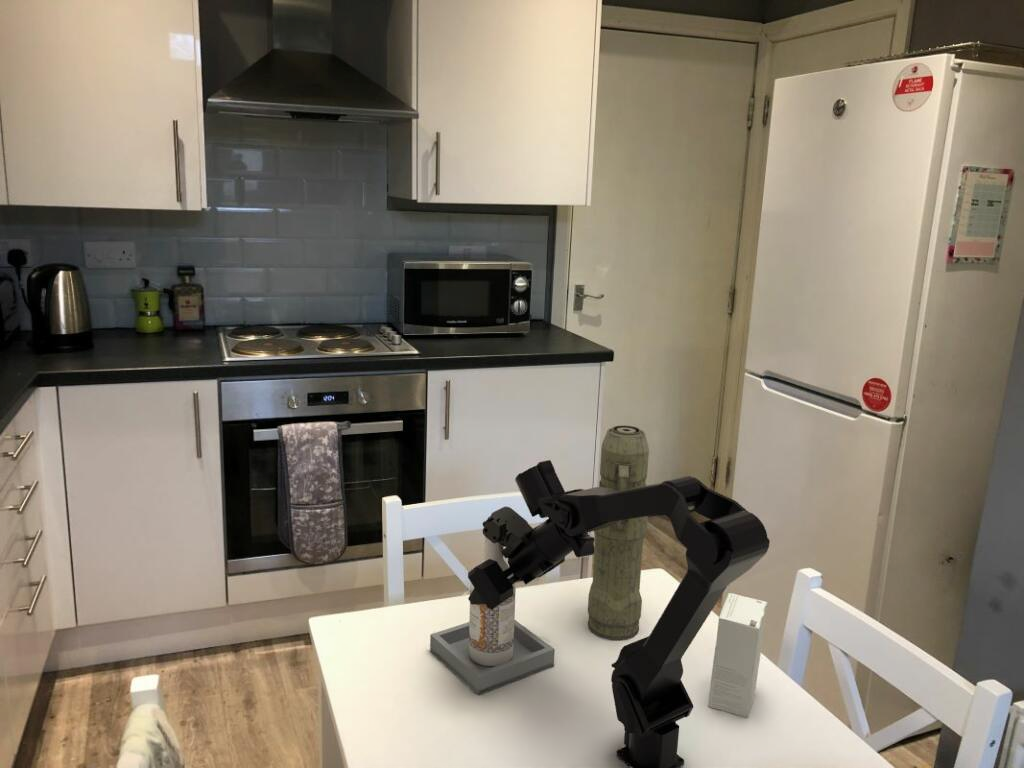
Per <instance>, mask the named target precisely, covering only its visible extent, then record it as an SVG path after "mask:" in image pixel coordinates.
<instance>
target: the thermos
mask: <svg viewBox="0 0 1024 768" xmlns="http://www.w3.org/2000/svg"><path fill="white" fill-rule="evenodd" d="M600 448H601V450H600V451H601V452H600V466H599V467H600V468H599V475H600V480H599V482H598V483H599V484H598V487H606V488H613V489H614V490H621V491H622V490H627V489H632V488H637V487H643V486H647V484H646V479H647V477H648V468H649V455H650V449H649V444H648V440H647V435H646V432H645V431H644V430H642V429H640V428H639V427H637V426H632V425H623V424H622V425H615V426H613V427H610V428H608V429H607V431H606V433H605V436H604V438H603V441H602V443H601V447H600ZM648 521H649V516H645V517H639V518H632V519H625V520H621V521H620V522H618V523H615V524H613V525H611V526H609V527H606V528H602V529H599V530H595V531H593V532H594V535H595V536H594V539H595V540H594V548H595V549H594V554H593V569H592V583H591V584H590V588H589V593H588V597H587V601H588V602H587V614H588V620H587V627H588V630H589V632H590V633H591V634H593V635H595V636H596V637H599V638H601V639H604V640H607V641H617V642H618V641H619V642H620V641H628V640H630V639H633V638H634V637H636V636H637V635H638V634H639V631H640V619H641V618H642V607H643V600H642V595H641V591H640V588H641V587H640V586H641V575H642V561H643V560H642V559H643V545H644V538H645V537H646V534H647V532H648V523H649V522H648Z"/></svg>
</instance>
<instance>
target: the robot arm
mask: <svg viewBox="0 0 1024 768" xmlns="http://www.w3.org/2000/svg"><path fill="white" fill-rule="evenodd" d="M514 480H515V483H516V485H517V487H518V489H519V492H520V495H522V498H523V500H524V502H525V504H526V507H527V509H528V512H529V513H530V515H531V517H532V518H533V517H536V516H537V515H538V516H539V517H540V519H545V518H547V519H546V520H544V522H542V523H540V524H539V525H537V526H535V527H534V528H533V527H532V526H531V525H530V524H529V522H528V521H527V519H525V518H524V517H522V515H520V514H519V513H518V512H517V511H516V510H514V509H513V508H511V507H510V506H503V507H501V508H499V509H497V510H495V511H492V512H491V514H490V516H488V517H487V519H486V520H484V521H483V522H482V527H483V528H482V531H481V532H482V534H483V536H484V538H485V537H487V538H488V539H489V540H490V541H491V542H492V543H497V542H498V543H499V544H500V545H502V546H504V549H503V550H502V551H501V553H502V554H503V558H505V559H507V565H508V567H509V568H508V569H506V570H505V571H503V570H502V569H501V567H500V566H499V564H498V563H497V561H495V560H491V559H488V560H486V561H485V562H483V563H481V562H480V563H481V564H480V563H479V564H478V565H476V566H475V567H473V568H472V569H470V571H468V572H467V578H468V580H469V582H470V584H471V583H472V585H473V586H474V589H473V591H472V593H471V594H470V593H469V596H468V598H467V599H468V601H469V604H470V603H471V604H472V605H474V604H485V605H486V606H487V608H489V609H492V610H493V609H494V608H496V607H497V606H499V605H500V604H502V603H503V602H505V601H506V600H507V599H509V598H510V597H512V596H513V591H514V587H513V584H514V583H515V584H516V583H519V582H523V584H524V585H528V584H529V583H531V582H533V581H534V580H535V579H536V578H541V577H543V576H545V575H546V574H548V573H549V572H551V571H552V570H554V569H556V568H558V567H559V566H560V565H561V564H563V563H565V561H566V560H565V559H566V557H567V556H568V555H569V554H570V553H572V552H573V553H574V555H575V558H579V559H580V558H584V557H589V556H594V550H595V536H594V537H593V536H590V535H589V533H590V532H591V533H592V532H594V531H595V530H599V529H602V528H606V527H609V526H611V525H613V524H615V523H618V522H620V521H621V520H625V519H632V518H639V517H645V516H648V517H650V516H651V517H652V516H657V515H665V516H666V517H667V518H668V519H669V520H670V523H671V526H672V529H673V532H674V534H675V537H676V539H677V541H679V542H680V543H681V544H682V545H683V546H684V547H685V548H686V550H685V558H686V560H685V561H686V564H687V571H686V572H685V573H684V575H683V578H682V580H681V581H680V583H679V584H678V586H677V588H676V589H675V591H674V593H673V595H672V596H671V598H670V600H669V601H668V603H667V605H666V607H665V609H664V610H663V611H662V613H661V615H660V617H659V619H658V620H657V622H656V624H655V626H654V627H653V629H652V631H651V632H650V634H649V635H648V636H646V637H643V638H641V639H637V640H635V641H633V642H630V643H628V644H626V645H623V646H622V648H621V650H620V651H619V654H618V657H617V659H616V660H615V662H613V663H611V668H613V671H612V673H611V677H610V682H611V689H612V690H611V691H612V696H613V702H614V708H615V713H616V714H615V715H616V719H617V720H618V722H620V723H621V724H622V725H623V729H624V737H623V738H624V739H623V744H624V745H625V746H623V747H621V748H619V749H617V750H616V754H615V755H616V756H617V757H618V758H619V759H620V760H621V761H622V762H624V763H625V764H626V765H628V767H630V768H680V767H683V766H684V765H685V759H684V758H683V757H681V756H680V755H678V748H679V747H678V746H679V735H680V733H679V732H680V725H679V724H677V721H680V720H682V719H683V718H688V717H690V715H691V713H692V711H693V709H694V704H693V702H692V700H691V697H690V696H689V693H688V691H687V690H686V687H685V685H684V683H683V682H682V677H683V674H684V666H683V663H682V658H683V656H684V655H685V653H686V652H687V651H688V648H690V645H691V644H692V643H693V641H694V639H695V637H696V636H697V635H698V633H699V631H700V630H701V628H702V627H703V625H704V623H705V622H706V620H707V618H708V617H709V616H710V614H711V612H712V611H713V609H714V608H715V606H716V604H717V603H718V601H719V600H720V599H721V597H722V595H723V594H724V592H725V590H726V589H727V587H729V585H731V584H732V583H733V582H734V581H737V579H739V578H741V576H742V575H744V574H746V573H747V572H748V571H750V570H751V569H752V568H753V567H754V566H755V565H756V564H757V563H758V562H759V561H760V560H761V559H762V558H763V557H764V556H765V555H766V554H767V552H768V550H769V547H770V543H771V541H770V539H769V537H768V533H767V530H766V527H765V525H764V524H763V522H762V521H761V519H760V518H759V517H758V516H757V515H755V514H754V513H752V512H751V511H750V512H749V511H748V510H747V509H746V508H745V507H743V505H741V503H739V502H738V501H736V500H735V499H732V498H730V497H728V496H726V495H724V494H721V493H719V492H717V491H715V490H713V489H711V488H709V487H708V486H707V485H705V484H704V482H702V481H701V480H699V479H698V478H696V477H694V476H693V477H692V476H690V475H684V476H680V477H676V478H673V479H668V480H664V481H662V482H659V483H654V484H649V485H646V486H643V487H637V488H632V489H627V490H622V491H621V490H614V489H613V488H606V487H599V486H596V487H590V488H587V489H585V488H584V489H583V488H578V489H577V488H576V489H572V490H567V491H566V490H565V489H564V487H563V485H562V482H561V481H560V479H559V476H558V474H557V473H556V470H555V467H554V464H553V463H552V461H551V459H547V460H542V461H539V462H538V463H537V464H536V465H534V466H532V467H530V468H527V469H526V470H525V471H523V472H520V473H518V474H517V475H516V477H515V478H514ZM690 510H693V511H694V512H695V513H697V514H698V515H700V516H703V517H704V518H707V519H708V520H706V521H702V522H699V520H697V519H696V518H695V517H694V516H693V515H692V514H691V511H690ZM512 574H513V576H512V577H511V578H509V579H508V577H509V576H511V575H512Z"/></svg>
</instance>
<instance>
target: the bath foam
mask: <svg viewBox="0 0 1024 768" xmlns="http://www.w3.org/2000/svg"><path fill="white" fill-rule="evenodd" d="M483 544H484V546H483V547H484V548H483V549H484V550H483V553H484V555H483V556H484V557H483V559H482V561H481V562H480V563H479V564H481V563H483V562H485V561H486V560H488V559H491V560H495V561H497V563H498V564H499V566H500V567H501V569H502V570H503V571H505V570H506V569H508V568H509V564H508V563H507V562H506V560H505V559H504V556H503V554H502V553H501V551H502V550H503V549H504V548H505V547H504V546H502V545H500V544H499V543H498V542H497V543H492V542H491V541H490V540H489V539H488V538H487V537H485V536H484V543H483ZM512 576H513V574H512V575H511V576H509V577H508V579H509V578H511V577H512ZM513 587H514V591H513V596H512V597H510V598H509V599H507V600H506V601H505V602H503V603H502V604H500V605H499V606H497V607H496V608H494V609H493V610H492V609H489V608H487V606H486V605H485V604H474V605H472V604H471V603H470V602H469V621H468V622H469V655H470V657H471V659H472V660H473V661H474V662H476V663H478V664H480V665H483V666H498V665H501V664H504V663H506V662H508V661H510V660H511V658H512V656H513V646H514V620H516V619H515V616H516V615H515V614H516V613H515V612H516V583H514V584H513ZM473 589H474V586H473V585H472V583H471V582H470V587H469V595H470V594H471V593H472V591H473Z"/></svg>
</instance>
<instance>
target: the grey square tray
mask: <svg viewBox="0 0 1024 768" xmlns="http://www.w3.org/2000/svg"><path fill="white" fill-rule="evenodd" d="M429 635H430V637H429V638H430V640H429V641H430V642H429V647H430V648H429V650H430V653H431V654H433V656H434V657H436V658H437V659H438V660H439V661H440V662H441V663H442V664H443V665H444V666H446V667H447V668H448V669H449V670H450V671H451V672H453V674H454V675H456V676H457V677H458V678H459V680H461V681H462V682H463V683H464V684H466V686H468V688H469V689H471V690H472V691H473V692H474V693H476V695H477V696H481V695H484V694H486V693H488V692H491V691H493V690H496V689H500V688H501V687H504V686H507V685H510V684H512V683H514V682H517V681H520V680H523V679H525V678H528V677H530V676H533V675H535V674H538V673H541V672H543V671H545V670H548V669H551V668H554V667H555V657H556V656H555V652H556V651H555V650H556V648H554V647H553V646H551V645H550V644H548V642H546V641H545V640H543V639H542V638H541V637H539V636H537V635H536V634H535V633H534V632H532V631H531V630H530V629H528V628H527V627H526V626H524V625H523V624H521V623H520V622H518V621H517V620H516V619H515V620H514V646H513V656H512V658H511V660H510V661H508V662H506V663H504V664H501V665H498V666H483V665H480V664H478V663H476V662H474V661H473V660H472V659H471V657H470V655H469V621H468V622H464V623H462V624H459V625H455V626H452V627H449V628H446V629H444V630H440V631H437V632H433V633H431V634H429Z"/></svg>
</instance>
